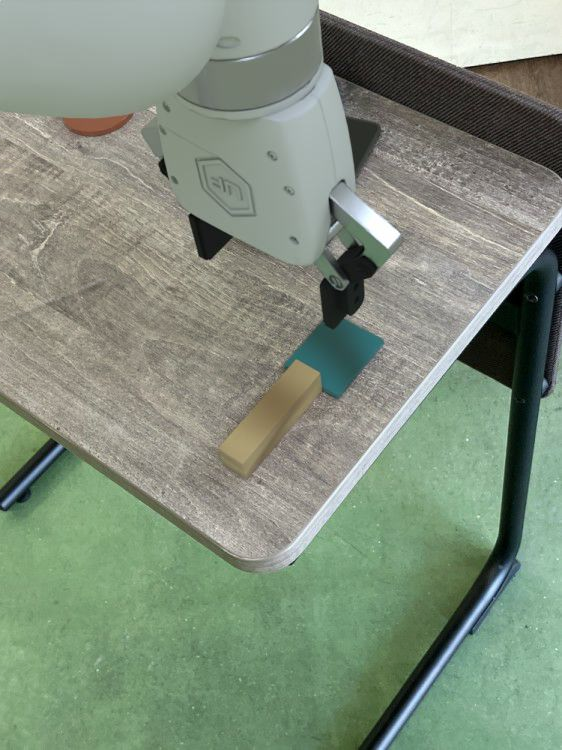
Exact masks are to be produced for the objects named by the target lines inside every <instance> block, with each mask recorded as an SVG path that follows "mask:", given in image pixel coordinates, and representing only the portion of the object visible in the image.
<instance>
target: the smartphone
mask: <svg viewBox="0 0 562 750" xmlns="http://www.w3.org/2000/svg"><path fill="white" fill-rule="evenodd" d="M345 117H346V122H347V126H348V131H349V137H350V142H351V148H352V155H353V162H354V171H355V180H357V177H358V176H359V174H360V172H361V170H362V168H363V167H364V164H365V163H366V161H367V159H368V157H369V156H370V153H371V152H372V149H373V147H374V146H375V144H376V142H377V140H378V138H379V137H380V135H381V134H382V133H381V132H382V126H381V124H380V123H379V122H376V121H372V120H368V119H362V118H360V117H359V118H358V117H353V116H349V115H348V116H347V115H345Z"/></svg>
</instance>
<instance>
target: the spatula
mask: <svg viewBox="0 0 562 750" xmlns="http://www.w3.org/2000/svg"><path fill="white" fill-rule="evenodd" d="M384 345H385V340H384V339H383V338H381V337H379V336H377V335H375V334H374V333H372V332H370V331H368V330H366V329H364V328H362V327H361V326H359V325H357V324H355V323H353V322H351V321H349V320H347V319H346V318H344V319H343V320H342V321H341V322H340V324H339V325H338V326H337V327H336V328H335V329H331V328H329V327H327V326H325V323H324V322H323V320H322V321H321V322H320V323H319V324H318V325H317V326H316V327H315V328H314V330H313V331H312V332H311V333H310V334H309V335H308V336H307V337H306V339H305V340H304V341H303V342H302V344H300V345H299V347H297V348H296V350H295V351H294V352H293V354H292V355H291V356H290V357H289V358H288V360H286V362H285V363H283V367H284V369H285V371H284V372H283V373H282V374H281V376H280V377H279V378H278V379H277V380H276V382H274V384H273V385H272V386H271V387H270V388H269V389H268V391H267V392H266V393H265V394H264V395H263V397H261V399H260V400H259V401H258V402H257V403H256V404H255V405H254V407H253V408H252V409H251V410H250V411H249V412H248V413H247V415H246V416H245V417H244V418H243V419H242V420H241V421H240V422H239V424H238V425H237V426H236V427H235V428H234V430H232V432H231V433H230V434H229V435H228V436H227V438H225V440H224V441H223V442H222V443H221V444H220V446H219V447H218V449H217V450H218V453H219V455H220V459H221V462H222V465H223V466H224V467H226V468H227V469H229V470H230V471H232V472H233V473H235V474H236V475H238V476H239V477H241V478H242V479H244V480H246V481H248V480H249V478H250V477H251V476H252V475H253V474H254V473H255V471H256V470H257V469H259V467H260V466H261V464H262V463H263V461H265V460H266V458H267V457H268V456H269V455H270V454H271V452H272V451H273V450H274V449H275V448H276V447H277V445H278V444H279V443H280V442H281V441H282V440H283V438H284V437H285V436H286V435H287V433H288V432H289V431H290V430H291V428H292V427H293V426H294V425H295V424H296V422H298V420H299V419H300V418H301V417H302V416H303V414H304V413H305V412H306V411H307V409H309V407H310V406H311V405H312V404H313V403H314V401H315V400H316V399H317V398H318V397H319V395H321V393H322V392H325V393H327V394H328V395H330V396H332V397H334V398H335V399H336V400H339V399H340V398H341V396H343V394H344V393H345V392H346V391H347V389H349V387H350V386H351V385H352V383H353V382H354V381H355V380H356V378H357V377H358V376H359V375H360V374H361V372H363V370H364V369H365V367H366V366H367V365H368V364H369V363H370V362H371V360H372V359H373V358H374V357H375V356H376V354H377V353H378V352H379V351H380V349H381V348H382V347H383V346H384Z"/></svg>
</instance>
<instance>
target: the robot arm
mask: <svg viewBox="0 0 562 750" xmlns="http://www.w3.org/2000/svg"><path fill="white" fill-rule="evenodd" d="M319 1H320V0H0V112H3V113H14V114H21V115H22V114H23V115H32V116H42V117H53V118H62V117H63V118H105V117H114V116H122V115H128V114H131V113H133V114H135V113H138V112H142V111H145V110H149V109H150V108H152V107H155V111H156V116H155V117H153V118H152V119H151V120H150V121H149V122H148V123H147V124H145V126H143V127H142V128H141V129H140V134H141V136H142V138H143V139H144V141H145V143H146V144H147V145H148V147H149V149H150V150H151V152H152V153H153V155H154V156H155V158H158V159H159V161H158V162H157V166H158V168H159V172H160V173H161V174H162V175H163V176H164V177H165V178H166V179H167V181H169V185H170V186H171V190H172V193H173V196H174V198H175V201H176V202H177V204H178V205H179V207H180V208H181V209H183V210H184V211H186V212H188V213H189V214H188V215H187V218H188V222H189V225H190V229H191V234H192V237H193V240H194V244H195V248H196V252H197V255H198V257H199V258H200V259H203V260H204V261H206V262H207V261H211V260H213V258H215V256H216V255H217V254H218V253H220V251H221V250H222V249H223V248H224V247H225V246H226V245H228V243H229V242H230V241H231V240H232V239H233V238H235V239H238V240H239V241H241V242H243V243H245V244H246V245H248V246H251V247H253V248H255V249H256V250H259V251H261V252H263V253H265V254H267V255H269V256H271V257H273V258H275V259H277V260H278V261H281V262H283V263H286V264H289V265H293V266H298V267H308V266H309V267H310V266H311V265H313V264H314V265H315V266H316V268H317V269H318V270H319V271H320V273H321V274H322V275H323V278H322V280H321V281H320V283H319V286H318V287H319V297H320V305H321V314H322V321H323V322H324V323H325V326H327V327H329V328H331V329H335V328H336V327H337V326H338V325H339V324H340V322H341V321H342V320H343V319H346V317H347V316H349V317H353V316H354V315H355V314H356V313H357V312H358V311H359V309H360V308H361V307H362V306H363V303H364V301H365V297H366V293H365V280H367V279H371V278H373V276H374V275H375V274H377V272H378V271H379V270H380V269H381V268H382V267H383V266H384V265H385V264H386V262H387V261H388V260H389V259H390V258H391V257H392V256H393V255H394V254H395V253H396V252H397V250H398V249H399V248H400V247H401V246H402V245H403V244H404V240H405V239H404V237H403V235H402V233H401V232H399V231H398V229H396V228H395V227H394V226H393V225H392V224H391V223H390V222H389V221H387V220H386V219H385V218H384V217H383V216H382V215H380V214H379V212H377V211H376V210H375V208H373V207H372V206H371V205H370V204H368V202H366V201H365V200H364V199H363V198H361V196H359V195H358V194H357V184H356V183H357V182H356V179H355V171H354V162H353V155H352V148H351V142H350V137H349V131H348V126H347V122H346V117H345V116H346V114H345V109H344V106H343V102H342V97H341V95H340V90H339V87H338V84H337V81H336V78H335V75H334V71H333V69H332V68H331V67H330V65H328V64H326V63H325V62H324V49H323V41H322V39H323V38H322V27H321V26H322V25H321V15H320V14H321V13H320V2H319ZM336 237H337V238H338V239H339V241H340V242H341V244H342V245H343V247H344V248H345V249H346V250H344V251H343V252H342V254H341V255H339V257H338V258H337V259H336V257H335V256H334V254H333V253H332V252H331V251H330V249H329V248H328V245H329V244H330V243H331V242H332V241H333V240H334V239H335V238H336Z"/></svg>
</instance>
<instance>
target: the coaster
mask: <svg viewBox="0 0 562 750" xmlns="http://www.w3.org/2000/svg"><path fill="white" fill-rule="evenodd" d="M133 115H134V113H131V114H128V115H122V116H114V117H105V118H63V117H61V119H62V121H63V124H64V126H65V127H66V129H68V130H69V131H70V132H72V133H74V134H76V135H80V136H85V137H99V136H104V135H108V134H111V133H113V132H115V131H117V130H119V129H120V128H122V127H124V125H126V124H127V123H128V122H129V121H130V120H131V118H132V117H133Z"/></svg>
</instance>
